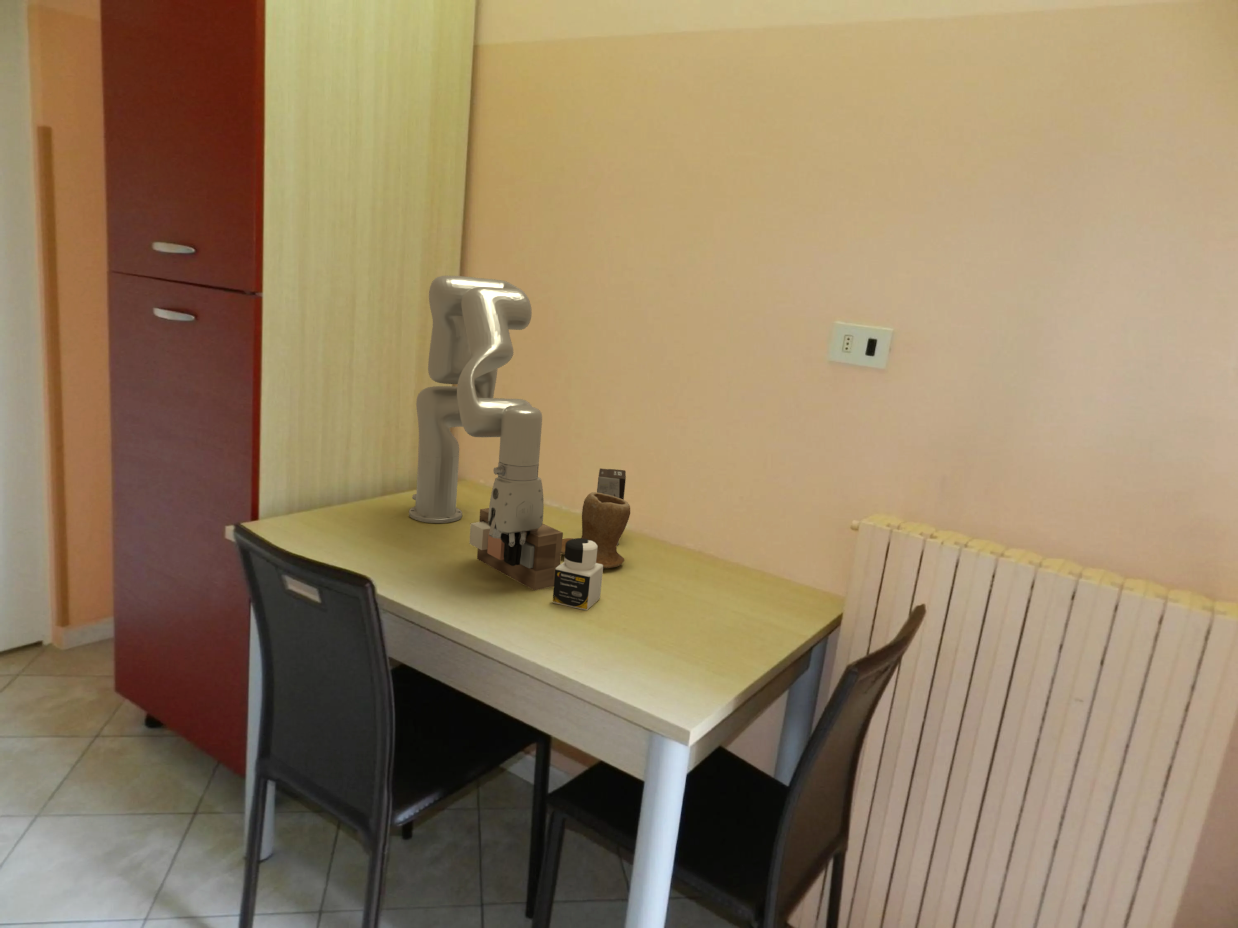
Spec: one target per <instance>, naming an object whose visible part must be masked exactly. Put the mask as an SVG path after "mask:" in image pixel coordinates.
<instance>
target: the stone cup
mask: <svg viewBox="0 0 1238 928" xmlns="http://www.w3.org/2000/svg"><path fill="white" fill-rule="evenodd" d="M581 510H582V511H581V529H582V530H581V537H580V538H584V539H588V540H591V541H593V542H595V543H596V544H597V546H598V547H597V558H596V563H598V564H602V565H603V569H612V568H617V567H619V566H621V565H622V564H623V563H624V562H625V558H624V557H623V556H622V555H621V554H619V552H618V551H617V549H618V548H617V546H618V545H617V543H618V541H619V542H620V539H621V537H622V535H623V533H624V532H625V530H626V528H627V524H628V522H629V519H630V516H631V505H630V503H629V502H628V501H627V500H625V499H624V500H623V499H620V498H617V497H614V496H611V495H607V494H602V493H597V491H596V492H594V491H593V492H590V493H589V494H587V496H586V497H585V498H584V501H583V504H582V509H581ZM571 539H574V538H572V537H571V538H570V537H565V538H562V550H561V555H563V556H565V545H566V542H567V541H569V540H571Z"/></svg>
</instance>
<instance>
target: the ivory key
mask: <svg viewBox="0 0 1238 928" xmlns="http://www.w3.org/2000/svg"><path fill="white" fill-rule="evenodd" d="M469 528H470V529H469V541H468V542H469V545H471V546H473V547H475V548H477V550H478V549H480V550H486V549H488V534H489V531H490V526H489V524H488V522H486V521H483V522H479V521H477V522H471V523H470V527H469Z"/></svg>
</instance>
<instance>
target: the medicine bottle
mask: <svg viewBox="0 0 1238 928" xmlns="http://www.w3.org/2000/svg"><path fill="white" fill-rule="evenodd" d="M597 547H598V546H597V544H596V543H595V542H593V541H591V540H588V539H584V538H581V537H580V538H579V537H577V538H575V537H574V538H573V539H571V540H569V541H567V542H566V545H565V555H564V559H563V560H564V561H563V562H561V563H560V565H559V566H558V567H556V568H555V579H554V586H553V590H552V591H553V592H552V603H554V604H558V605H562V606H565V607H569V608H573V609H578V610H582V611H588V609H589V608H591V607H592V606H593V605H594V604H595V603H597V602H598V601H599V600H600V599H601V593H602V585H603V584H602V581H603V571H604V568H603V565H602V564H598V563H596V558H597Z"/></svg>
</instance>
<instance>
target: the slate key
mask: <svg viewBox="0 0 1238 928" xmlns="http://www.w3.org/2000/svg"><path fill="white" fill-rule="evenodd" d="M534 551H535V545H533V544H531V543H529V542H527V541H525V543H524V544H523V545H522V549H521V558H520V564H521V565H523V566H525V567H527V568H533V564H534Z"/></svg>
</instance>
